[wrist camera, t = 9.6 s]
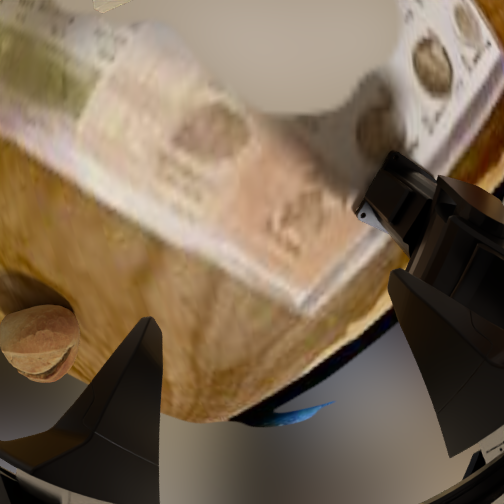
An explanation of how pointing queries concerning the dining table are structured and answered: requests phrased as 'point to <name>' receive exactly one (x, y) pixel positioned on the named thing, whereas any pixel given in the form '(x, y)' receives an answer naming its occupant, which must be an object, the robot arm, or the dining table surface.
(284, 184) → the dining table surface
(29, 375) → the bread roll
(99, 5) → the gear board
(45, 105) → the dining table surface
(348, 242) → the dining table surface
